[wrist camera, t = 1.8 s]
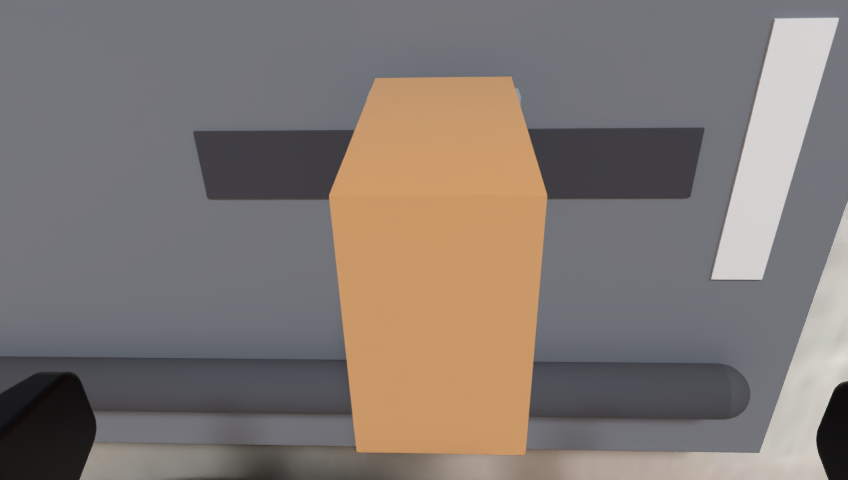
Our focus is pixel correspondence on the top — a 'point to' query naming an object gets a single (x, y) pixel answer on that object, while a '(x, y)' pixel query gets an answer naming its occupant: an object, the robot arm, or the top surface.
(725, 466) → the top surface
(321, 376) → the grey slider track
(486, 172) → the breaker handle
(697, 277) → the panel
